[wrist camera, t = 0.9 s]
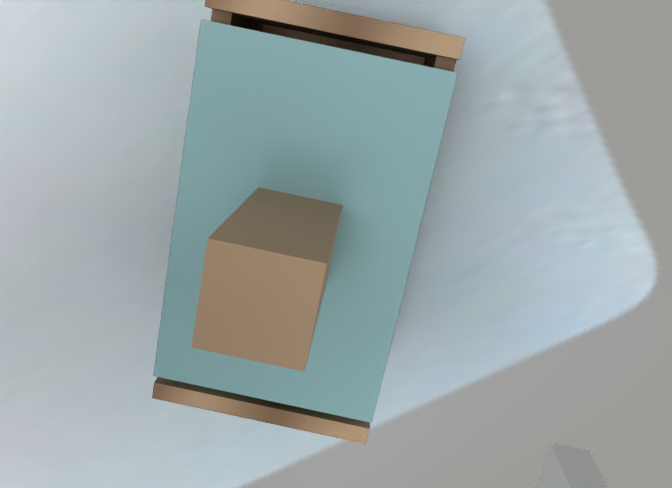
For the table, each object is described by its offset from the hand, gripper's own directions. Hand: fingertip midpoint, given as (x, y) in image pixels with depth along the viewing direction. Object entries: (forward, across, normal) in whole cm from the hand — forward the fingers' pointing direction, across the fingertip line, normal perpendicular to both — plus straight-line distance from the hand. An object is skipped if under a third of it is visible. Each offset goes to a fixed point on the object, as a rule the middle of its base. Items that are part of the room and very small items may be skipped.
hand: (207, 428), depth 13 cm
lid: (+16, 0, 0) cm, 16 cm away
